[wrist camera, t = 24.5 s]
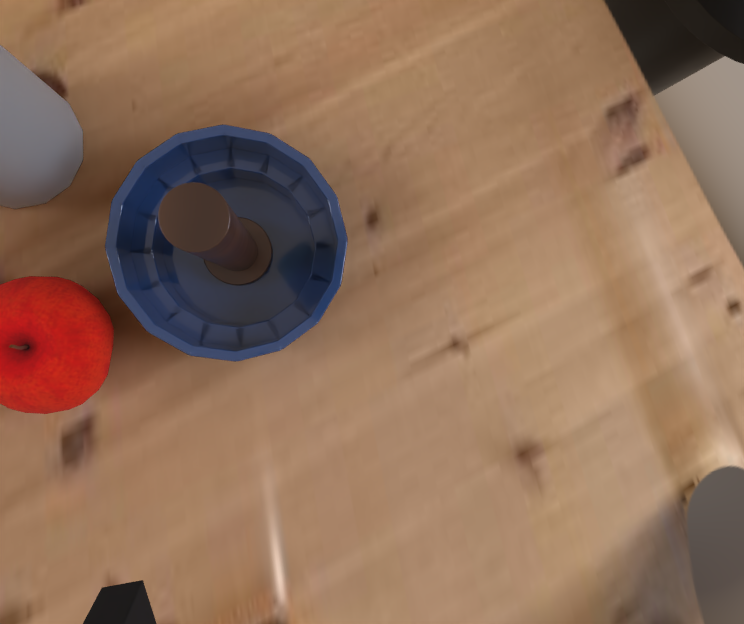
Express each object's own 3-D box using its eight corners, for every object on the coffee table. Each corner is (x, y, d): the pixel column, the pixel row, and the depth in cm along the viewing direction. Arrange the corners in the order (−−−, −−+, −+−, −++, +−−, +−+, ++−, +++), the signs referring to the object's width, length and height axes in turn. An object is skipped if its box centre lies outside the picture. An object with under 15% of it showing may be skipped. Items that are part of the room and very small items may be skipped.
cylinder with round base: (263, 212, 36) (238, 146, 20) (279, 276, 36) (267, 261, 20) (197, 227, 35) (118, 171, 19) (214, 292, 36) (149, 288, 20)
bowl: (311, 136, 37) (315, 105, 31) (357, 322, 38) (369, 327, 32) (115, 177, 35) (78, 152, 29) (167, 371, 36) (142, 386, 30)
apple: (145, 385, 36) (107, 408, 28) (20, 412, 35) (-54, 444, 27) (118, 267, 35) (71, 259, 28) (-10, 291, 34) (-94, 290, 27)
